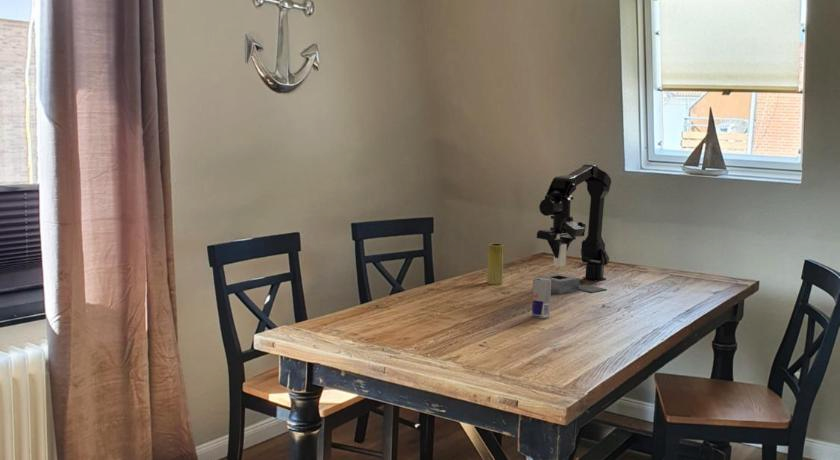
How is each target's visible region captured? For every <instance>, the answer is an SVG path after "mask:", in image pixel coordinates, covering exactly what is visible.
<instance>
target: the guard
mask: <svg viewBox="0 0 840 460" xmlns="http://www.w3.org/2000/svg"><path fill="white" fill-rule="evenodd" d="M539 277H547V278H550V280H551V293H553V294H556V295H563V294H569V293H574V292H579V291H580V290H579V287H580V277H575V276H571V275H566V274H562V273H553V274H547V275H542V276H539Z"/></svg>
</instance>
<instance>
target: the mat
mask: <svg viewBox="0 0 840 460" xmlns="http://www.w3.org/2000/svg"><path fill="white" fill-rule="evenodd" d="M607 290H608V289H607V288H603V287H599V286H594V285H590V284H589V285H584V286H583V285H582V286H579V291H581V292H586V293H589V294H595V293H600V292H604V291H607Z"/></svg>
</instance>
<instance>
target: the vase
mask: <svg viewBox="0 0 840 460" xmlns="http://www.w3.org/2000/svg"><path fill="white" fill-rule="evenodd" d="M486 274H487V275H486V276H487V279H486V284H488V285H493V286H498V285H503V284H504V244H503V243H499V242H498V243H496V242H494V243H493V242H492V243H489V244H488V255H487V273H486Z"/></svg>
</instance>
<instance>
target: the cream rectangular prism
mask: <svg viewBox="0 0 840 460" xmlns="http://www.w3.org/2000/svg"><path fill="white" fill-rule="evenodd" d="M566 248H567V244H564V243H560V246H559V256H558V258H555V256H554V255H553V267H555V268H556V267H557V268H563V267H567V266H566V265H567V252H566Z"/></svg>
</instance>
